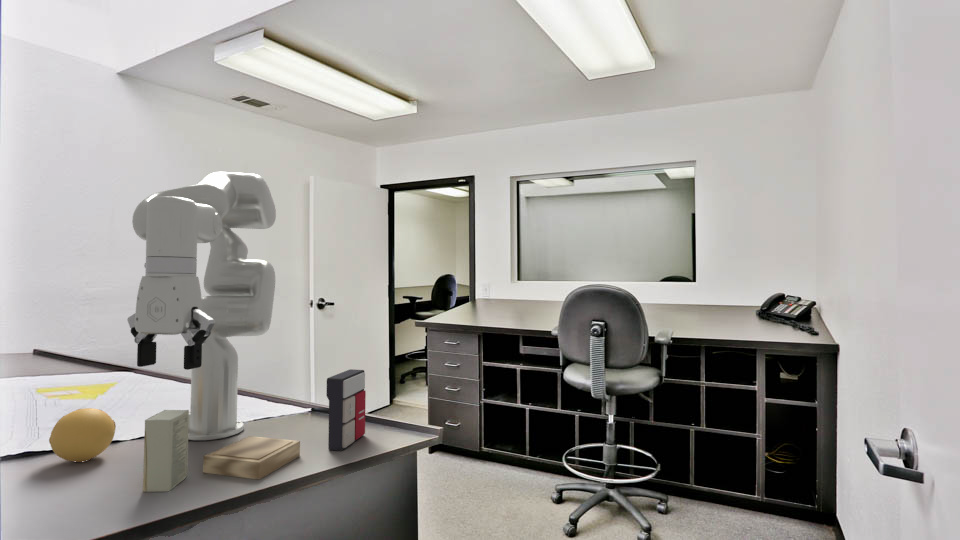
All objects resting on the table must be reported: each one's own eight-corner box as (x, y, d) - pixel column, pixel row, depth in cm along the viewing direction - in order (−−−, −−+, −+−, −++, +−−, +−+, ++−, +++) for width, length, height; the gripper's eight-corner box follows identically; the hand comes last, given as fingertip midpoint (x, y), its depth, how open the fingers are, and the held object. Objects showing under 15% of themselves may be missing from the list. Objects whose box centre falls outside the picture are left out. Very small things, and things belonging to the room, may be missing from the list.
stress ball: (100, 470, 92) (137, 425, 100) (58, 441, 87) (101, 395, 95) (66, 472, 96) (104, 427, 103) (23, 443, 90) (67, 399, 98)
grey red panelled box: (344, 451, 101) (345, 379, 101) (325, 450, 102) (326, 378, 102) (366, 435, 112) (367, 369, 112) (349, 434, 113) (350, 368, 113)
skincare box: (162, 477, 87) (164, 409, 87) (188, 477, 87) (190, 409, 88) (141, 493, 81) (143, 419, 81) (169, 492, 81) (171, 419, 81)
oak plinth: (203, 472, 90) (203, 455, 90) (248, 450, 101) (249, 435, 101) (259, 479, 87) (259, 461, 87) (299, 456, 98) (299, 440, 98)
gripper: (111, 267, 83) (108, 368, 83) (195, 267, 79) (193, 373, 79) (150, 268, 91) (148, 361, 90) (229, 269, 87) (227, 365, 86)
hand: (169, 366), depth 85 cm, fingers open, 9 cm apart
